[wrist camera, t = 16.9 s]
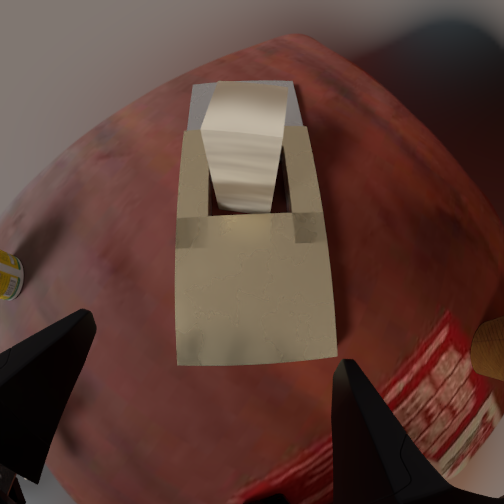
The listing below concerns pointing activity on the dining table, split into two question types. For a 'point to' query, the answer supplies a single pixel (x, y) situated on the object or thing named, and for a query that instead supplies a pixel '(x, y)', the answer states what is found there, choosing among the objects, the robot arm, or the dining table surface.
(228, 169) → the maple pin
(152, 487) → the dining table surface
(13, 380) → the robot arm
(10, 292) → the supplement bottle
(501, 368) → the disposable coffee cup
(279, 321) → the plate with square hole
